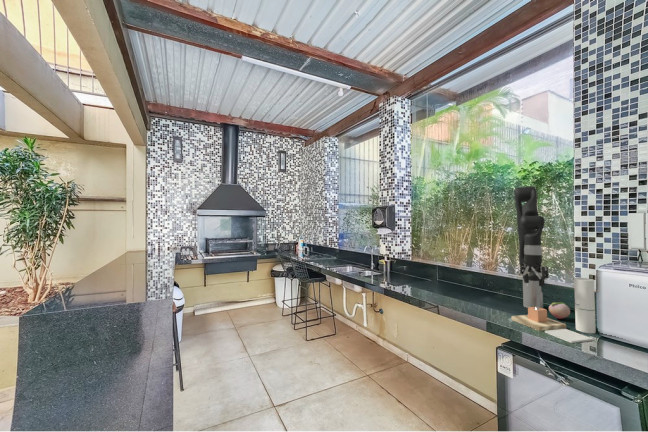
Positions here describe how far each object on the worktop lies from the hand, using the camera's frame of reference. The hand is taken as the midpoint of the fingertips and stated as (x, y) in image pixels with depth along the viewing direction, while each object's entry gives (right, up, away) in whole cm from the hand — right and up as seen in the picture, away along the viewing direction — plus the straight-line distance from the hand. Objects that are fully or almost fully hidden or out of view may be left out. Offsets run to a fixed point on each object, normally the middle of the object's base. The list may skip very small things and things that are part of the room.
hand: (533, 284), depth 147 cm
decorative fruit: (+18, -21, +5) cm, 28 cm away
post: (+1, -18, -1) cm, 18 cm away
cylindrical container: (+18, -20, -10) cm, 29 cm away
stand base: (+1, -20, -1) cm, 20 cm away
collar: (+1, -18, -1) cm, 18 cm away
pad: (+3, -20, -17) cm, 26 cm away
